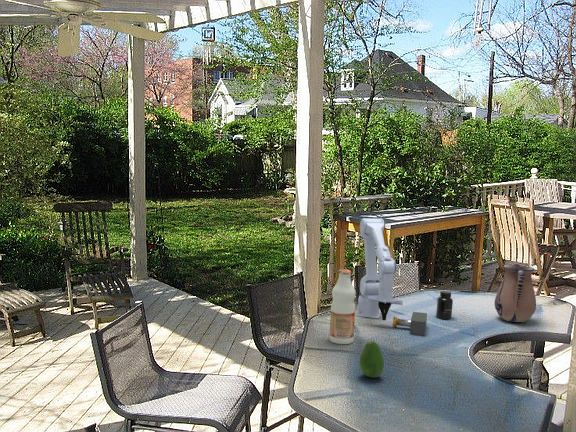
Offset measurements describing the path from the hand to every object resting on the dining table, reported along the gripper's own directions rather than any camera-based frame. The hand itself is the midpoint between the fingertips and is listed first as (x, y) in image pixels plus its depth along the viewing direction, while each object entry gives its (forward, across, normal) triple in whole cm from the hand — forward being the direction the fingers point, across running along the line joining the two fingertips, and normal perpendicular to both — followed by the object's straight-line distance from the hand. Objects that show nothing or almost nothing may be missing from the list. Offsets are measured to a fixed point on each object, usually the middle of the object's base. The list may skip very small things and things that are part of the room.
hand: (384, 319), depth 254 cm
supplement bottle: (+3, +24, +24) cm, 34 cm away
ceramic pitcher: (+3, +56, +31) cm, 64 cm away
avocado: (+3, +2, -59) cm, 59 cm away
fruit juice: (+3, -14, -26) cm, 29 cm away
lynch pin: (+2, +10, 0) cm, 11 cm away
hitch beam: (+3, +14, 0) cm, 15 cm away
